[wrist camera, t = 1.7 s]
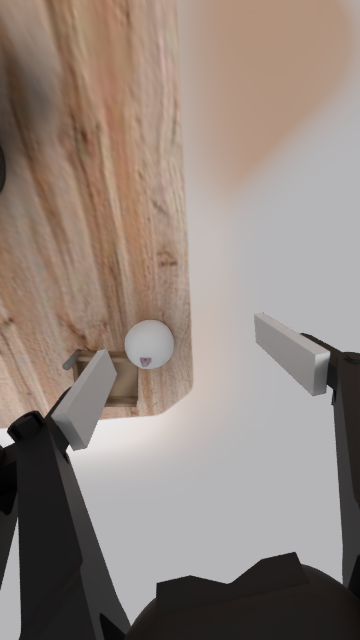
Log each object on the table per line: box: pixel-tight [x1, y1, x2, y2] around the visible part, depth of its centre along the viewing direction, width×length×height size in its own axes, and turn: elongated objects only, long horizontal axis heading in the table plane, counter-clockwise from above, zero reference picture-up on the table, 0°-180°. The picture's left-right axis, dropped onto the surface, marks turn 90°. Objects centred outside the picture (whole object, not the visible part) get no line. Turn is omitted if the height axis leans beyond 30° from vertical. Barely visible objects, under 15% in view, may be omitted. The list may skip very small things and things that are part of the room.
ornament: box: [125, 320, 174, 369], centre depth 37 cm, size 10×10×12 cm
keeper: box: [63, 349, 138, 407], centre depth 43 cm, size 15×15×6 cm
